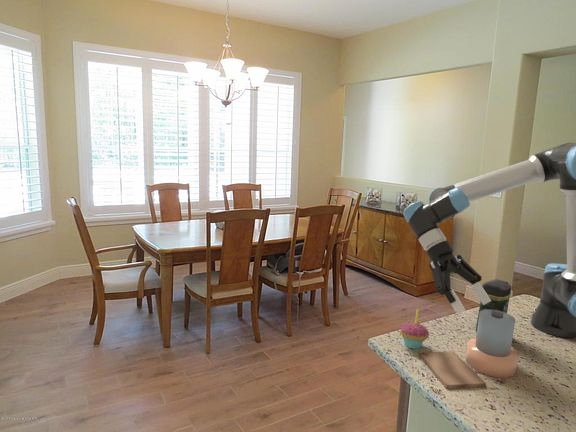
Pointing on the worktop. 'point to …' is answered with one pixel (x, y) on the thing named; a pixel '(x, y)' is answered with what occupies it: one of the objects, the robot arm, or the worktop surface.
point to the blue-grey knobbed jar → (495, 333)
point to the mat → (451, 370)
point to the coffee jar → (496, 296)
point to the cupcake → (414, 333)
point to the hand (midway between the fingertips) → (475, 307)
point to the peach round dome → (491, 362)
